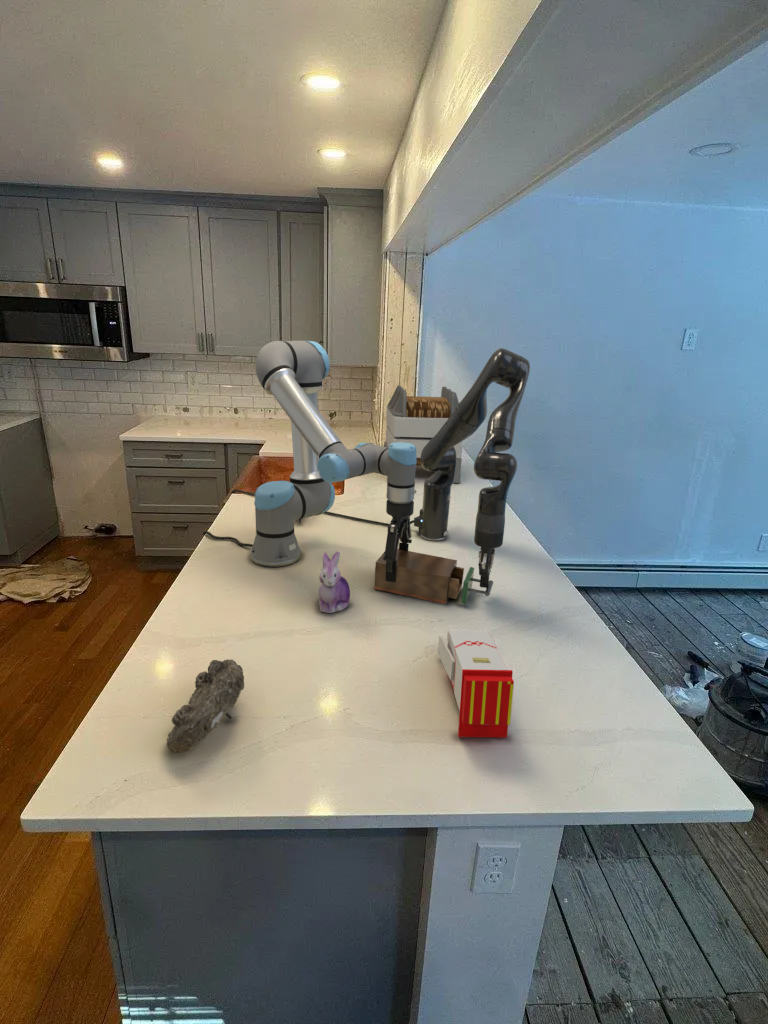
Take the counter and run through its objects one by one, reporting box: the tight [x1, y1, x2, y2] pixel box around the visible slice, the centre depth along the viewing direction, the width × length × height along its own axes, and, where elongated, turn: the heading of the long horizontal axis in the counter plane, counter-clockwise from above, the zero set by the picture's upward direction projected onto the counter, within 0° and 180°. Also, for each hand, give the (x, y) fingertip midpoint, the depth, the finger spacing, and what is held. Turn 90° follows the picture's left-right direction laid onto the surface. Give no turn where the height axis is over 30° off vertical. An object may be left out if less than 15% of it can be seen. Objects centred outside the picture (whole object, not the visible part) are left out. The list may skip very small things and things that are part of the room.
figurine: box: [318, 551, 351, 614], centre depth 147 cm, size 9×10×15 cm
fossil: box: [166, 658, 245, 754], centre depth 106 cm, size 22×10×15 cm
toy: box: [437, 628, 515, 738], centre depth 117 cm, size 12×13×30 cm
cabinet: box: [373, 548, 458, 605], centre depth 160 cm, size 21×11×8 cm, turn 72°
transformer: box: [383, 384, 464, 484], centre depth 268 cm, size 34×33×41 cm
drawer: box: [447, 566, 494, 604], centre depth 158 cm, size 25×10×6 cm, turn 72°
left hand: (396, 572), depth 162 cm, fingers closed on cabinet, 11 cm apart
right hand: (484, 586), depth 155 cm, fingers closed
